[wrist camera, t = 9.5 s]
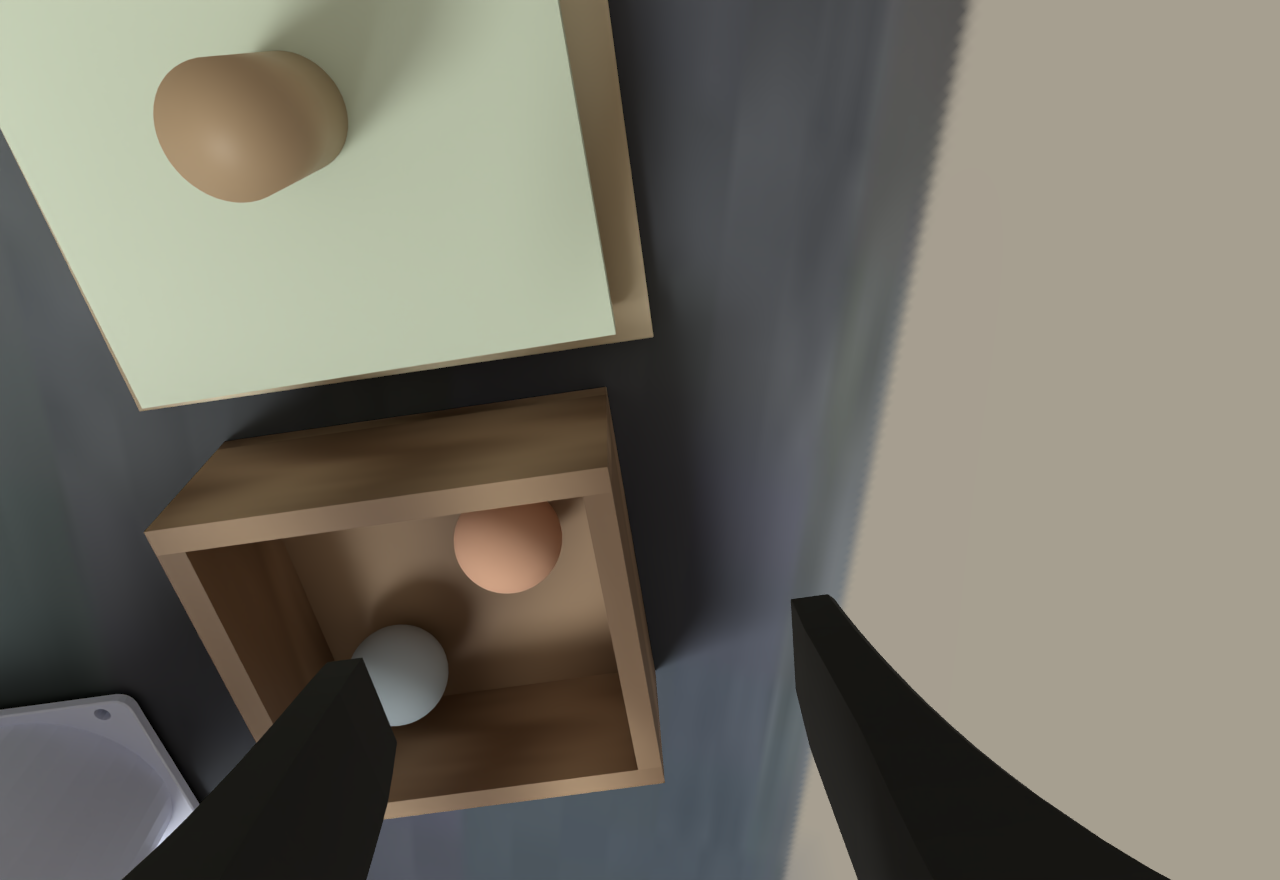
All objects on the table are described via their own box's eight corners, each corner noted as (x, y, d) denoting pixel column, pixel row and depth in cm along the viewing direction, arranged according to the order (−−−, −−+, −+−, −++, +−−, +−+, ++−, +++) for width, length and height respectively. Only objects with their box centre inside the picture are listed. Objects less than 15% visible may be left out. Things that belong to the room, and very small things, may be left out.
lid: (169, 385, 21) (64, 474, 17) (-100, -175, 15) (-355, -246, 11) (614, 315, 20) (618, 388, 16) (511, -285, 15) (477, -402, 11)
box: (345, 713, 27) (302, 830, 24) (224, 441, 22) (143, 532, 18) (655, 671, 27) (664, 782, 23) (606, 386, 22) (607, 466, 18)
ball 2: (476, 557, 24) (460, 623, 21) (451, 473, 23) (431, 533, 20) (572, 543, 24) (569, 608, 21) (554, 459, 22) (547, 517, 20)
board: (150, 401, 22) (139, 411, 21) (-163, -250, 15) (-192, -261, 14) (652, 329, 21) (653, 337, 21) (556, -371, 15) (555, -386, 14)
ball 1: (377, 679, 26) (352, 754, 24) (349, 611, 25) (319, 681, 22) (465, 668, 26) (450, 741, 23) (442, 598, 25) (423, 667, 22)
